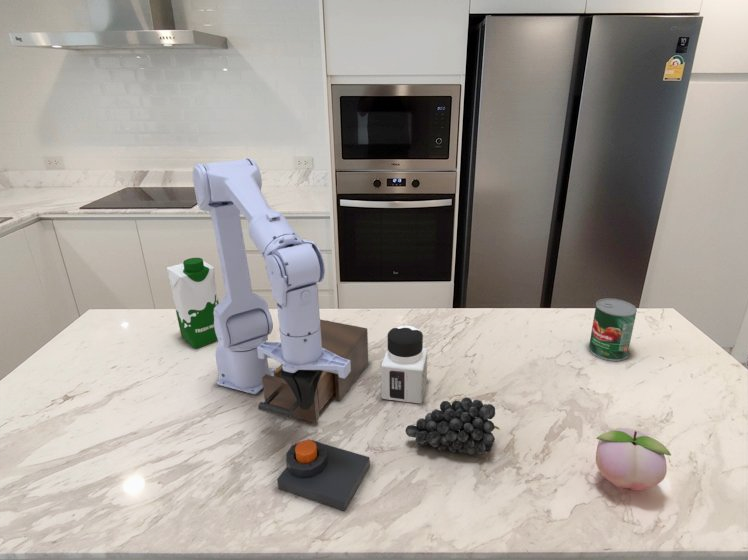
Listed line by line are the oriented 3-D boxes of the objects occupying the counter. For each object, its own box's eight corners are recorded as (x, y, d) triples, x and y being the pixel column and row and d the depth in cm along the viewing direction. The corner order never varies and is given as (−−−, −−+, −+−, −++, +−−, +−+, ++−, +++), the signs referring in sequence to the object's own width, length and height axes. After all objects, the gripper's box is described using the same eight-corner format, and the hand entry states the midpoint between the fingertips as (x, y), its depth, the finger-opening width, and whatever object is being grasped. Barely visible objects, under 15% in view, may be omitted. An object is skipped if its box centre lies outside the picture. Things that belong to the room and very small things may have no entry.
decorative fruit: (649, 468, 74) (663, 416, 70) (665, 512, 67) (681, 456, 63) (584, 458, 76) (594, 407, 72) (593, 499, 69) (605, 445, 65)
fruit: (404, 407, 74) (503, 408, 73) (405, 390, 82) (494, 390, 81) (405, 461, 75) (502, 463, 74) (406, 439, 83) (494, 440, 82)
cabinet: (339, 401, 90) (337, 362, 87) (286, 388, 94) (282, 350, 91) (368, 363, 102) (367, 328, 98) (320, 353, 106) (317, 318, 103)
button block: (275, 487, 72) (272, 469, 70) (305, 447, 79) (304, 430, 78) (344, 511, 68) (343, 493, 66) (369, 466, 75) (369, 448, 74)
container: (421, 404, 89) (423, 344, 84) (381, 399, 91) (380, 339, 86) (426, 380, 96) (428, 323, 91) (388, 376, 98) (388, 319, 93)
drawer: (302, 440, 79) (298, 407, 77) (250, 425, 83) (245, 393, 80) (347, 382, 94) (346, 353, 91) (301, 372, 98) (298, 343, 95)
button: (292, 460, 72) (291, 451, 72) (303, 446, 75) (302, 437, 74) (310, 466, 71) (309, 457, 71) (321, 452, 74) (320, 443, 73)
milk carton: (193, 352, 107) (177, 269, 99) (176, 337, 113) (160, 258, 105) (229, 337, 112) (217, 258, 105) (211, 324, 118) (198, 248, 111)
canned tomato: (630, 348, 106) (639, 303, 102) (624, 365, 100) (634, 318, 96) (592, 338, 110) (599, 295, 106) (584, 354, 104) (592, 309, 100)
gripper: (240, 330, 67) (251, 409, 72) (332, 351, 62) (337, 434, 67) (269, 309, 73) (277, 383, 78) (355, 326, 68) (358, 404, 73)
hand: (307, 405), depth 73 cm, fingers closed
